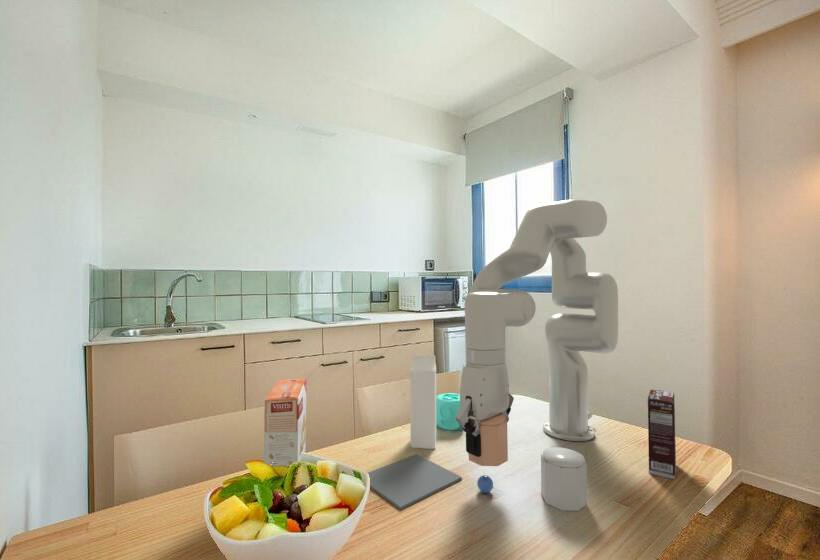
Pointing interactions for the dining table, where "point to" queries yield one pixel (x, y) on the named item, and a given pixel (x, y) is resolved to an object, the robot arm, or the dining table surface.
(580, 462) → the white lidded canister
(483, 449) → the peach cylinder canister
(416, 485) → the rubber mat
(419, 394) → the milk
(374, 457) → the dining table surface
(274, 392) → the cracker box
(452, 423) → the turquoise embossed cylinder
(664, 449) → the supplement box
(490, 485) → the marble
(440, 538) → the dining table surface
